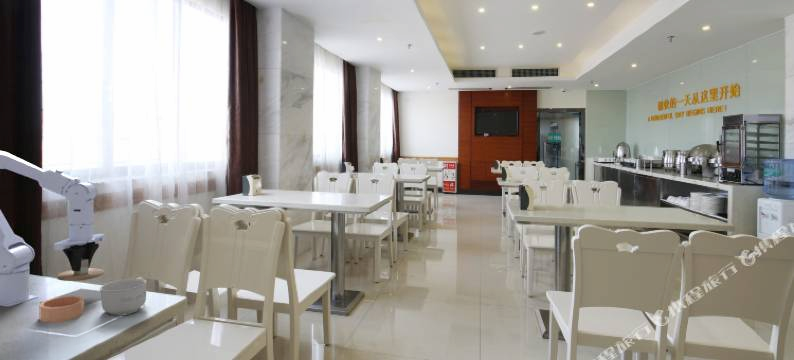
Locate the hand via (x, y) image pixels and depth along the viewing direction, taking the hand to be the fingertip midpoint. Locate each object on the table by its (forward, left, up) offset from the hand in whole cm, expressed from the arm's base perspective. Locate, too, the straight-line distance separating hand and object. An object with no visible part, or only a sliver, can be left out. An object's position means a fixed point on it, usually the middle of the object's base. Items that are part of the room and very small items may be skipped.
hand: (80, 269), depth 123 cm
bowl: (+7, -12, -9) cm, 16 cm away
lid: (0, 0, -2) cm, 2 cm away
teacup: (+19, -3, -9) cm, 21 cm away
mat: (0, 0, -9) cm, 9 cm away
